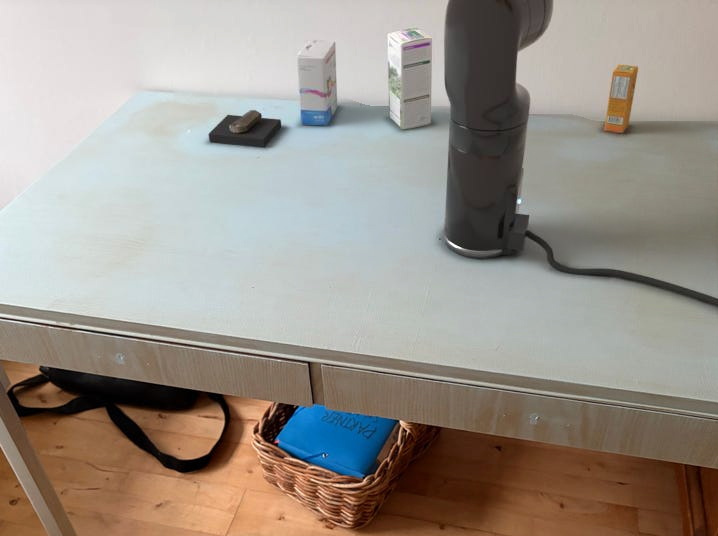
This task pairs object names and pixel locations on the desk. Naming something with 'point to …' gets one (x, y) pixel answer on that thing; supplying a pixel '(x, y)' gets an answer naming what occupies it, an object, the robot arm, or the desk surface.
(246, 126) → the block
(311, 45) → the ink box
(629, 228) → the desk surface
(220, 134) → the black pad
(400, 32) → the syrup box
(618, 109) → the supplement box
